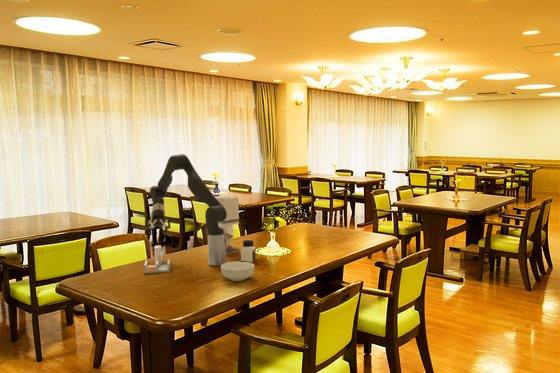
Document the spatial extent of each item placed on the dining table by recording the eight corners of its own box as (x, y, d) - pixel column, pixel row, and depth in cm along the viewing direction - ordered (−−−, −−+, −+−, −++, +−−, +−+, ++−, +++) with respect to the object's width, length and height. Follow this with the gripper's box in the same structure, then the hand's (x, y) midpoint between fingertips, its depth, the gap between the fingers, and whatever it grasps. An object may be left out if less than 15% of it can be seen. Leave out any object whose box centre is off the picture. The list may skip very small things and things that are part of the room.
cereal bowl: (240, 285, 219) (240, 271, 218) (214, 280, 228) (214, 266, 227) (260, 277, 233) (260, 263, 233) (235, 272, 242) (234, 259, 241)
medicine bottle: (252, 262, 263) (252, 241, 262) (240, 261, 264) (240, 241, 263) (255, 259, 270) (255, 239, 269) (244, 258, 271) (244, 238, 270)
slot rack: (145, 267, 252) (145, 260, 252) (169, 266, 255) (169, 259, 255) (144, 273, 242) (144, 265, 241) (169, 271, 245) (169, 263, 244)
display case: (224, 254, 282) (223, 198, 278) (215, 251, 290) (213, 197, 286) (239, 251, 289) (238, 197, 286) (229, 248, 297) (228, 195, 294)
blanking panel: (155, 262, 264) (154, 245, 263) (161, 262, 264) (161, 245, 264) (155, 265, 258) (154, 248, 257) (161, 264, 259) (160, 247, 258)
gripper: (146, 209, 277) (145, 231, 267) (170, 208, 281) (170, 229, 271) (146, 216, 283) (146, 238, 273) (170, 215, 286) (170, 237, 276)
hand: (158, 234), depth 272 cm, fingers open, 8 cm apart
